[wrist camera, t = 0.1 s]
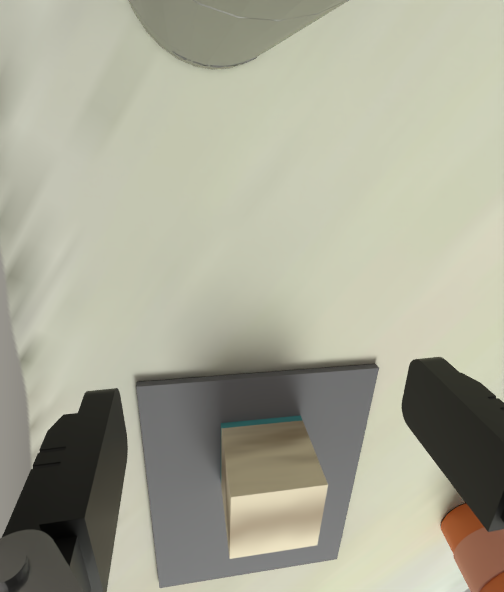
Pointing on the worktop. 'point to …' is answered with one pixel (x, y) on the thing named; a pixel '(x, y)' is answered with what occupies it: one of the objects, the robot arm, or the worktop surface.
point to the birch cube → (270, 486)
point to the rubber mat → (207, 460)
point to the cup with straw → (475, 550)
